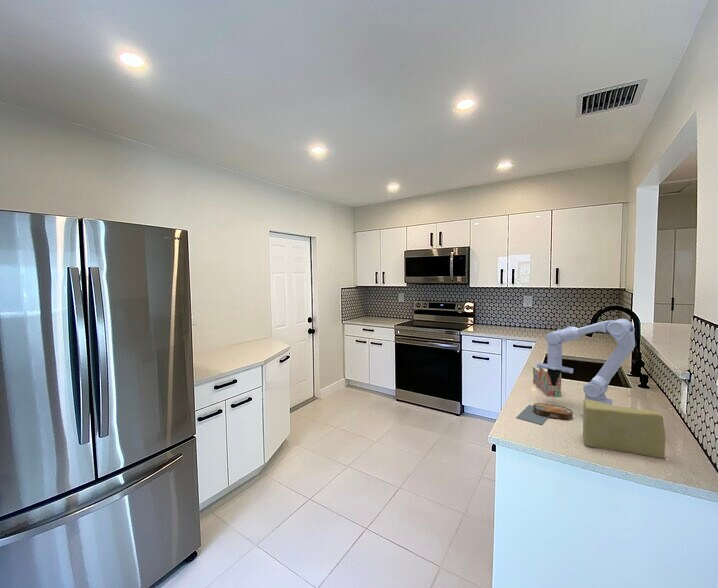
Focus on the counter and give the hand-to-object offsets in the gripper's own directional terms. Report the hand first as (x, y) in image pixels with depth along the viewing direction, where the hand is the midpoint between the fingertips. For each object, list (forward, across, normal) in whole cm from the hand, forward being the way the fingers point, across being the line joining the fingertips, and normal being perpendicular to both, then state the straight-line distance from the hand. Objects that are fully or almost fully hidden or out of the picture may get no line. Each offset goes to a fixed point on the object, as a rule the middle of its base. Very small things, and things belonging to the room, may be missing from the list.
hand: (554, 385), depth 150 cm
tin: (+8, +4, -17) cm, 19 cm away
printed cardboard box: (+10, -8, +20) cm, 24 cm away
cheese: (+10, +26, -28) cm, 39 cm away
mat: (+9, -4, -18) cm, 20 cm away
